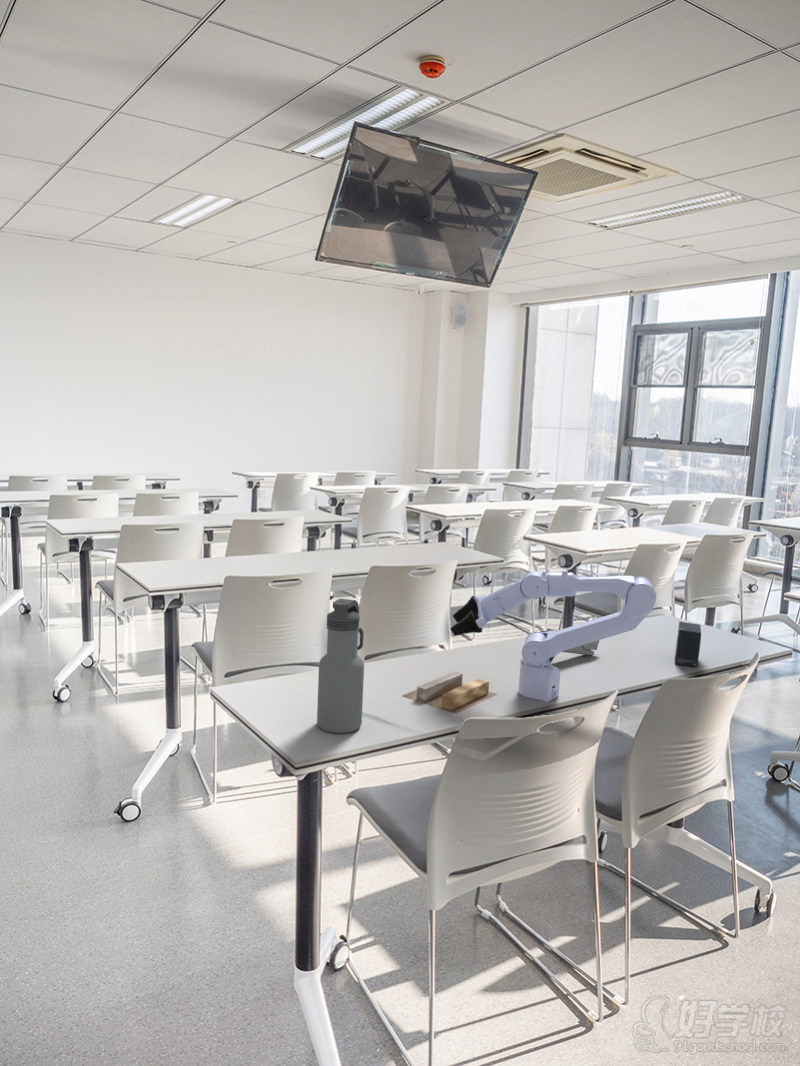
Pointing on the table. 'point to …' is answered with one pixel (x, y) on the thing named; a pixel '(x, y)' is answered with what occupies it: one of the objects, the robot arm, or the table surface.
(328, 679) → the water bottle
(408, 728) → the table surface
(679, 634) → the small box
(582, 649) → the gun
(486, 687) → the oak bar
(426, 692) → the stand
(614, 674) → the table surface
